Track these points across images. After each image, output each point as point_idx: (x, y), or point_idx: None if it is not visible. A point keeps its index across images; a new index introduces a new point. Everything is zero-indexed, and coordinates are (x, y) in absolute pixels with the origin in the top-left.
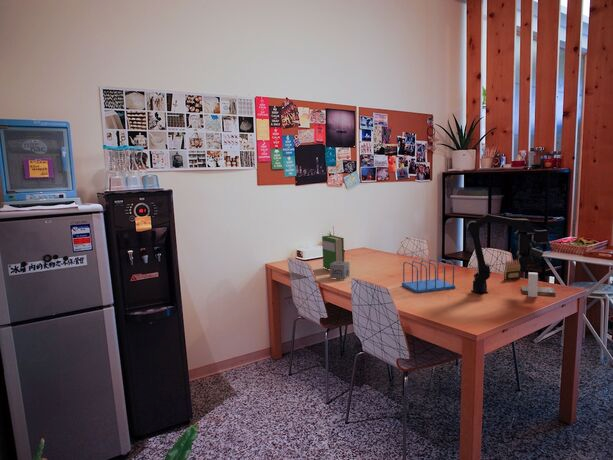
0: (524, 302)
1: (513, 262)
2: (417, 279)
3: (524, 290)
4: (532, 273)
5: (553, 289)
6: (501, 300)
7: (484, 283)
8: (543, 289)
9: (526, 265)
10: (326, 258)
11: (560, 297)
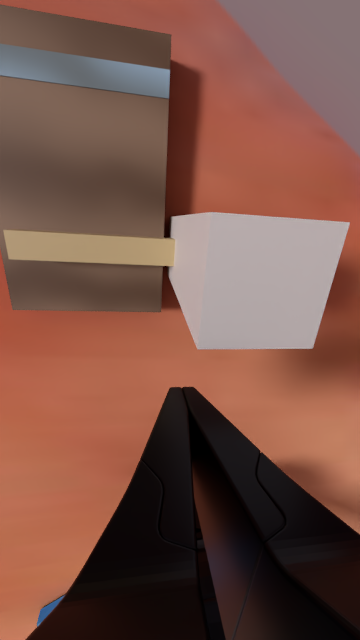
0: (330, 306)
1: None
2: None
3: (156, 300)
4: (282, 301)
5: (36, 15)
6: (299, 399)
7: (198, 519)
8: (75, 138)
9: (285, 489)
10: None
11: (186, 10)
